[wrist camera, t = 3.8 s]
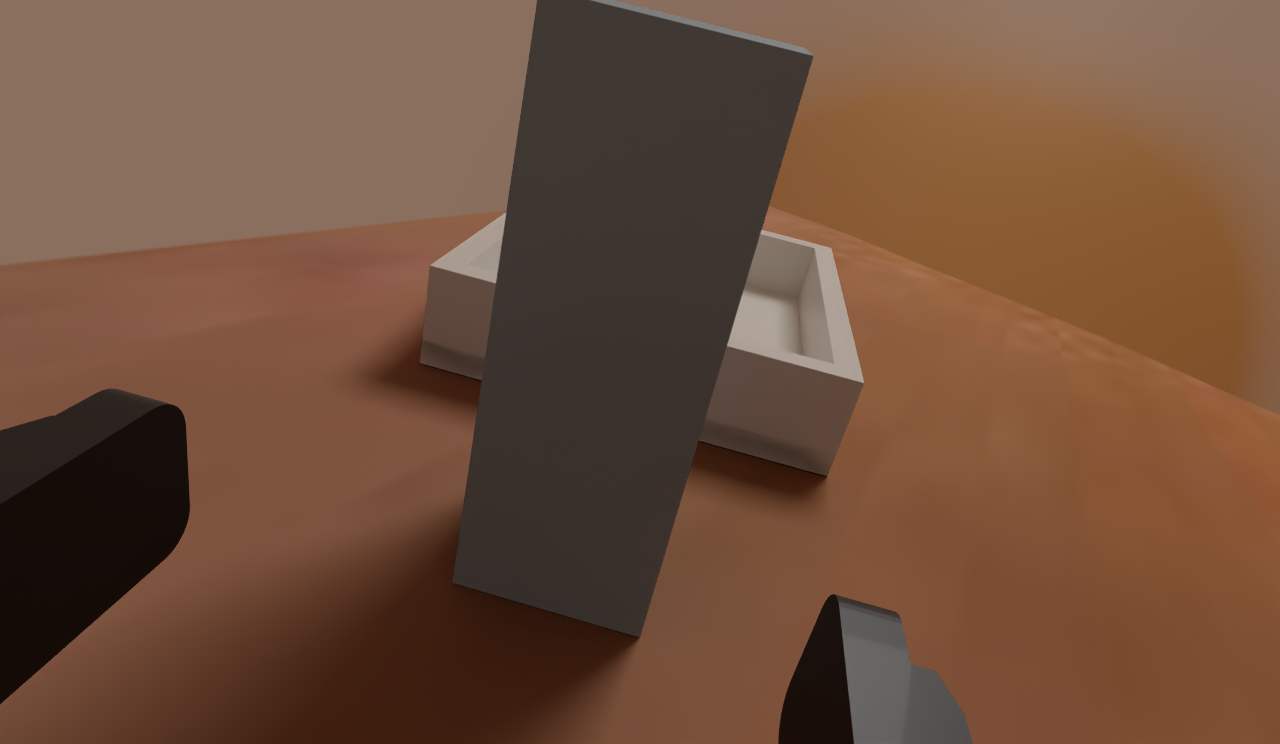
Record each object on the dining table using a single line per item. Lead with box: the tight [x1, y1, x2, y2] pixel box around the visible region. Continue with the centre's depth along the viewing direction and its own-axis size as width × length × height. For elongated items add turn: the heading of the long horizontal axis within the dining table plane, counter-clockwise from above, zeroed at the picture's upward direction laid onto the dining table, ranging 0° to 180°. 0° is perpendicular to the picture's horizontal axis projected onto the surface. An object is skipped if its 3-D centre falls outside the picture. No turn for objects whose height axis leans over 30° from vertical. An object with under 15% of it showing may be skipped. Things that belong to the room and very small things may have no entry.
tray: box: [420, 213, 864, 476], centre depth 36 cm, size 16×18×4 cm
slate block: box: [452, 0, 813, 638], centre depth 19 cm, size 5×5×14 cm
